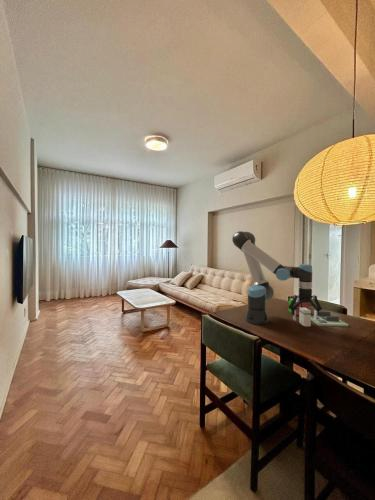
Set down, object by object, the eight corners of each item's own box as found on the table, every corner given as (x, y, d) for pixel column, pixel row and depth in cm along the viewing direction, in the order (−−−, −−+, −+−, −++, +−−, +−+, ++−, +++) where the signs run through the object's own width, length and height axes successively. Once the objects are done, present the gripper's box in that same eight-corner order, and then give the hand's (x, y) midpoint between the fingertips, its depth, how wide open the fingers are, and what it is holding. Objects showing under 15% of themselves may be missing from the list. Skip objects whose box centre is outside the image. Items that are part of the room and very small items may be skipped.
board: (319, 325, 139) (319, 319, 138) (306, 316, 155) (306, 311, 155) (348, 326, 138) (348, 319, 137) (332, 317, 155) (332, 311, 154)
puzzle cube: (308, 315, 159) (308, 302, 159) (294, 315, 159) (294, 302, 159) (301, 311, 169) (301, 298, 169) (288, 311, 169) (288, 298, 169)
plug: (304, 326, 138) (304, 310, 138) (298, 321, 146) (298, 306, 146) (310, 326, 138) (311, 310, 138) (304, 321, 146) (304, 307, 146)
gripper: (288, 288, 138) (287, 321, 138) (328, 289, 136) (327, 322, 137) (283, 286, 145) (283, 317, 146) (321, 287, 144) (321, 318, 144)
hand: (304, 320), depth 141 cm, fingers open, 13 cm apart
